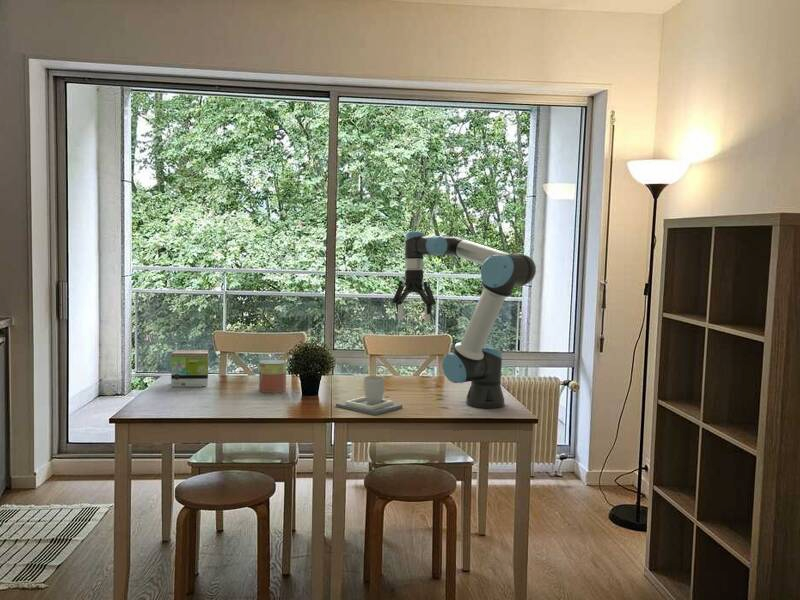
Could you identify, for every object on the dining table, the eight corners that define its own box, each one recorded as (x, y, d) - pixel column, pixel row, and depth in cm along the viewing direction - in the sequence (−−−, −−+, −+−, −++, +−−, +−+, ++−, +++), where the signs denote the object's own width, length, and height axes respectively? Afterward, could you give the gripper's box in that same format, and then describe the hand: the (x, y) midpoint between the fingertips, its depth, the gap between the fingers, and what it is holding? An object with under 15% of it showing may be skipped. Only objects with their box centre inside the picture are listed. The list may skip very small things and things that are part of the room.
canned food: (258, 387, 317) (258, 359, 316) (285, 386, 320) (285, 359, 319) (259, 392, 306) (259, 364, 305) (286, 392, 309) (287, 363, 308)
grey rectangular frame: (402, 407, 286) (402, 401, 286) (375, 415, 273) (375, 408, 273) (363, 399, 298) (363, 393, 298) (335, 406, 285) (335, 400, 285)
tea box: (171, 387, 312) (170, 353, 310) (172, 383, 322) (172, 349, 320) (207, 387, 315) (208, 352, 314) (208, 382, 325) (208, 348, 324)
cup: (385, 401, 290) (386, 376, 289) (382, 406, 282) (383, 380, 281) (365, 400, 291) (365, 375, 290) (361, 405, 283) (362, 379, 282)
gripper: (444, 269, 299) (444, 322, 300) (395, 268, 314) (395, 318, 316) (434, 270, 293) (433, 323, 294) (384, 269, 308) (384, 319, 310)
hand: (413, 321), depth 305 cm, fingers open, 13 cm apart
